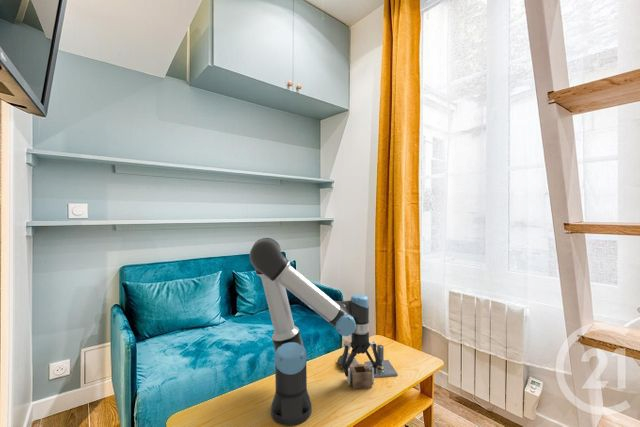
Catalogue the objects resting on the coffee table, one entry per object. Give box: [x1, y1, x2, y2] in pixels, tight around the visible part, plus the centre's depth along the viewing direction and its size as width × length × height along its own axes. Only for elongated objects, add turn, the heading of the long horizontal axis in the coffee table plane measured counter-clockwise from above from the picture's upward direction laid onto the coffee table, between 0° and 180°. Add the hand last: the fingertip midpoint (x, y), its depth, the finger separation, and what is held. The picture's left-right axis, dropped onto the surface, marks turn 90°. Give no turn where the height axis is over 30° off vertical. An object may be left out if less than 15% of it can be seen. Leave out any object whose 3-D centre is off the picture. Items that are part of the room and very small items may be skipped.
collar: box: [349, 363, 373, 390], centre depth 128 cm, size 8×8×6 cm
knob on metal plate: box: [363, 344, 398, 379], centre depth 138 cm, size 12×12×11 cm
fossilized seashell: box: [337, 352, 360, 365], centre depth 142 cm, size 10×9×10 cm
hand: (360, 382), depth 128 cm, fingers open, 10 cm apart
